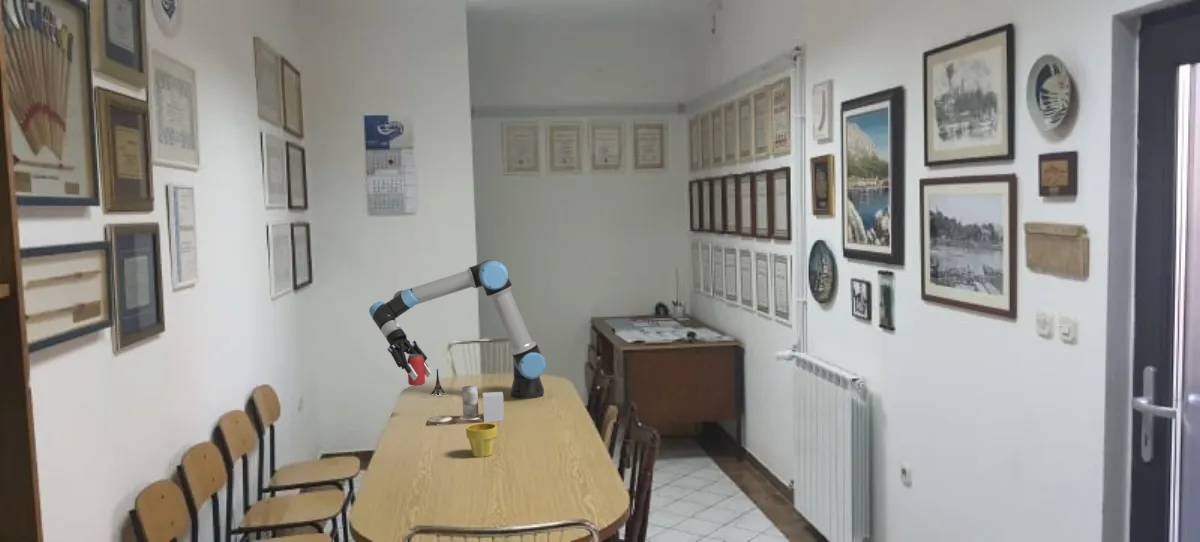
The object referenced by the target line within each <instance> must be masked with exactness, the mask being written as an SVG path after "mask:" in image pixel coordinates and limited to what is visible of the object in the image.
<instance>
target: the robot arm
mask: <svg viewBox="0 0 1200 542" xmlns="http://www.w3.org/2000/svg"><path fill="white" fill-rule="evenodd" d="M512 286H513V284H512V282H511V279H510V278H509V273H508V269H507V267H506V266H505V265H504V264H503V263H501V262H500V261H498V260H493V259H488V260H487V259H486V260H483V261H482V262H480V263H477V264H475V265H472V266H469V267H468V268H467V270H465V271H461V272H458V273H455V274H451V275H448V276H445V277H442V278H439V279H435V280H432V281H429V282H426V283H423V284H420V285H417V286H414V287H411V288H406V289H404V290H402V289H401V290H399V291H396V292H395V293H394V295H393V298H391V299H390V300H389V301H388V302H386V303H385V302H384V301H382V300H381V301H377V302H375V303H373V304H372V305H371V306H370V307H369V309H368V310H369V311H368V312H369V315H370V316H371V319H372V320H373V321H374V323H375V324H376V326H377V327H378V329H379V331H380V332H381V334H382V335H383V336H384V338H385V339H386V341H387V343H388V344H389V347H388V348H387V352H389V353H390V355H391V356H392V358H393V360H394V363H396V365H397V367H398V368H401V369H402V370H405V372H406V373H407V374H408V373H409V375H410V376H411V378H412V379H413V381H414V380H415V379H416V378H417V376H418V375H417V374H416V372H415V371H414V369H413V368H412V366H411V365H410V364H408V359H407V357H406V354H407V355H411V354H422V356H423V358H424V368H425V377H426V378H429V377H430V376H431V375H432V372H431V370H430V368H429V366H428V363H427V362H426V361H427V360H428V357H427V356H426V354H425V353H424V352H423V350H422V349H421V348H420V347H419V345H418V344H417V341H416V340H414V341H410V340H408V338H407V334H406V333H405V332H404V330H403V329H402V327H401V325H400V324H399V322H398V321H397V320H396V319H397V318H398V317H400V316H402V315H403V314H404V313H406V312H407V311H409V310H410V309H412V308H414V307H415V305H419V304H423V303H425V302H428V301H432V300H434V299H439V298H441V297H445V296H448V295H450V294H453V293H454V294H455V293H458V292H461V291H463V290H467V289H470V288H473V289H478V288H481V287H482V288H483V291H484V292H485V295H486V296H487V297H488V298H490V299H491V300H492V302H493V305H494V307H495V309H496V311H497V313H498V316H499V318H500V321H501V323H502V325H503V328H504V330H505V332H506V334H507V337H508V339H509V342H510V344H511V346H512V352H511V355H512V365H513V369H512V370H513V380H512V384H511V388H510V397H511V398H515V399H533V397H535V398H539V397H538V396H540V397H542V396H541V395H543V394H544V395H545V389H544V386H543V383H542V380H541V378H540V377H541V376H542V375H543V374H544V373H545V371H546V368H547V367H546V366H547V363H546V359H545V357H544V356H543V355H542V352H541V350H540V347H539V344H538V343H537V342H536V341H533V340H532V338H531V336H530V333H529V332H528V329H527V328H528V327H527V326H526V324H525V321H524V319H523V317H522V315H521V312H520V310H519V307H518V306H517V303H516V300H515V298H514V296H513V294H512ZM405 353H406V354H405ZM544 395H543V396H544Z"/></svg>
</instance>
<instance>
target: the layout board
mask: <svg viewBox="0 0 1200 542" xmlns="http://www.w3.org/2000/svg"><path fill="white" fill-rule="evenodd" d="M478 391H479V390H478V386H477V385H465V386H463V387H461V394H462V414H463V415H453V416H452V415H451V416H447V415H446V416H445V415H440V416H434V417H429V418H428V422H427V424H428V425H433V426H438V425H437V424H448V425H457V424H456V423H463V424H478V423H484V418H483V414H479V396H478V395H479V394H478Z"/></svg>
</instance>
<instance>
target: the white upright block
mask: <svg viewBox="0 0 1200 542" xmlns="http://www.w3.org/2000/svg"><path fill="white" fill-rule="evenodd" d="M504 401H505V400H504V393H503V391H493V392H492V391H491V392H483V393H482V407H483V423H492V422H504V421H505V407H504V406H505V405H504Z"/></svg>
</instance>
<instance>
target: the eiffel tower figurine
mask: <svg viewBox="0 0 1200 542" xmlns="http://www.w3.org/2000/svg"><path fill="white" fill-rule="evenodd" d="M439 392H440V393H446V392H445V390H444V389H443V387H442V386H441V383H440V376H439V369H438V368H436V381H435V386H434V388H433V390H432V392H431V393H430V395H431V394H435V393H437V395H439Z"/></svg>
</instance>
